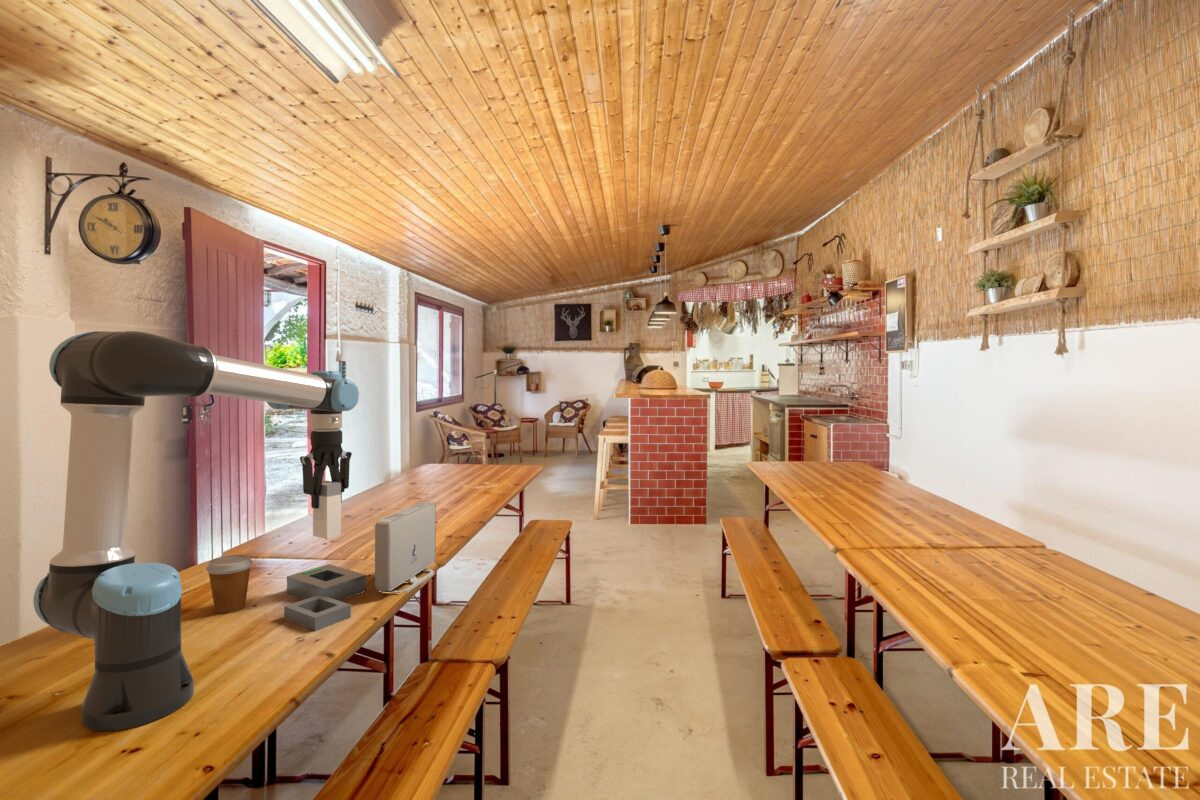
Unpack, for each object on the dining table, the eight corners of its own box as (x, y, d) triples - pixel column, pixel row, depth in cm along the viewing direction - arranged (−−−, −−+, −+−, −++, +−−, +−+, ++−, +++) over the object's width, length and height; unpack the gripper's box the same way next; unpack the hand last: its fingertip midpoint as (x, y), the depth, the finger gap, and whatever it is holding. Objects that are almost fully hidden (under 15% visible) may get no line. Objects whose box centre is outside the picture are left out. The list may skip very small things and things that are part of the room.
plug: (327, 539, 148) (326, 485, 148) (313, 535, 151) (312, 482, 151) (340, 535, 152) (340, 483, 151) (326, 532, 155) (326, 480, 154)
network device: (395, 600, 148) (396, 523, 147) (365, 597, 149) (365, 520, 149) (442, 568, 173) (442, 502, 172) (415, 566, 174) (416, 500, 174)
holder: (315, 631, 129) (315, 617, 129) (284, 618, 135) (284, 606, 135) (350, 617, 137) (350, 604, 137) (319, 606, 143) (319, 594, 143)
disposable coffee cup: (258, 608, 141) (257, 559, 141) (212, 619, 134) (212, 568, 134) (246, 597, 148) (245, 551, 147) (202, 608, 141) (201, 559, 140)
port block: (324, 606, 143) (324, 587, 143) (286, 593, 151) (286, 575, 151) (365, 591, 153) (365, 573, 153) (328, 579, 161) (328, 563, 161)
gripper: (303, 433, 141) (304, 527, 142) (364, 428, 156) (364, 513, 157) (286, 431, 145) (286, 523, 146) (346, 426, 160) (346, 510, 161)
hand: (326, 518), depth 151 cm, fingers closed on plug, 4 cm apart
